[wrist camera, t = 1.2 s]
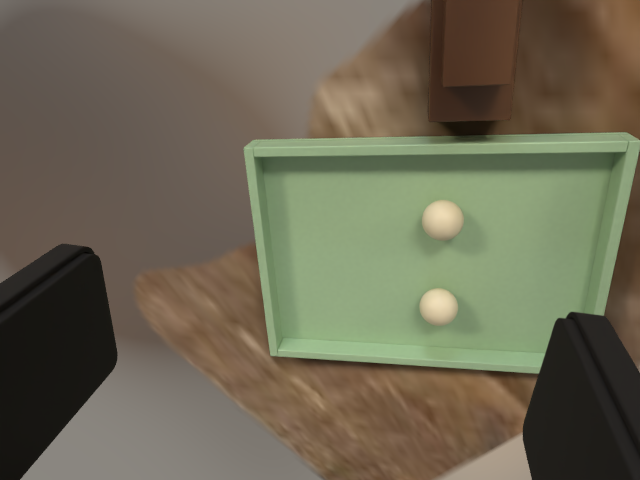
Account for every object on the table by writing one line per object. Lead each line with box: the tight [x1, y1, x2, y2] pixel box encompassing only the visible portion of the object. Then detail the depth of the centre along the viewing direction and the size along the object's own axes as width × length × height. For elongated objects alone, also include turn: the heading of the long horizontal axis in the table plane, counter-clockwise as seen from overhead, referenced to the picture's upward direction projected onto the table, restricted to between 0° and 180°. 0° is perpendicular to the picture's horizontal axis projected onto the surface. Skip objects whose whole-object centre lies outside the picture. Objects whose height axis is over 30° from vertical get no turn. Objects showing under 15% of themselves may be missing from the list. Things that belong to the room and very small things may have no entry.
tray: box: [244, 132, 640, 374], centre depth 31 cm, size 21×15×2 cm
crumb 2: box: [419, 288, 458, 326], centre depth 31 cm, size 2×2×2 cm
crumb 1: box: [422, 200, 464, 241], centre depth 29 cm, size 2×2×2 cm
